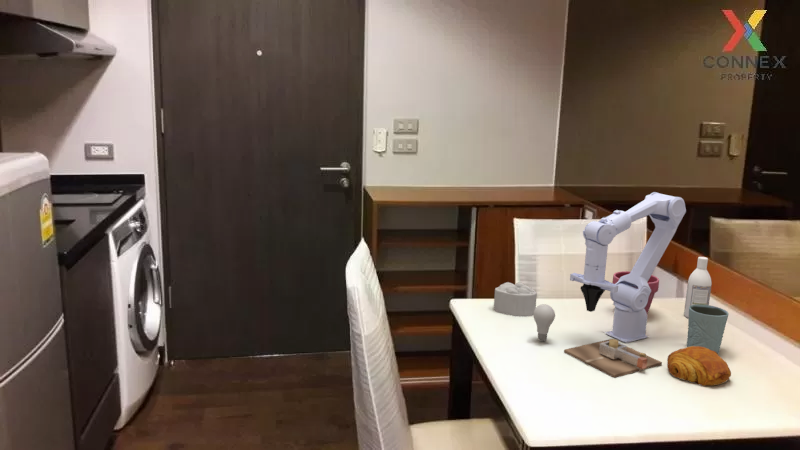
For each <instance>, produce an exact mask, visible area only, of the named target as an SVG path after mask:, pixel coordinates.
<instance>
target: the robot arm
mask: <svg viewBox="0 0 800 450" xmlns="http://www.w3.org/2000/svg"><path fill="white" fill-rule="evenodd" d="M686 213H687V209H686V203H685V200H684V198H682V197H681V196H673V195H668V194H663V193H659V192H656V191H653V192H651V193H650V194H647V195H645V197H644V200H642V201H640V202H638V203H637V204H635V205H634V206H632V207H631V208H629V209H628V210H626V211H624V210H620V209H619V210H618V209H616V210H614V211H613V212H612V214H609V215H607V216H604V217H602V218H600V219H599V220H598V221H597V220H592V221H590V222H589V223H587V224H586V225H585V227H584V229H583V230H582V236H583V238H584V240H585V243H584V244H585V247H586V248H585V256H584V257H585V259H584V266H583V268H584V269H583V274H581V273H576V272H573V273H570V275H569V281H572V282H578V283H581V284H582V285H581V286H580V291H581V292H582V296H583V297H584V302H585V306H586V311H587V312H590V313H592V312H594V311H595V310H596V308H597V305H598V303H599V301H600V298H601V297H602V295H603V294H604V293H605V292H606V291H607V292H610V293H609V295H610V299H611V301H612V302H613V303H612V305H613V306H614V311H613V312H614V313H613V322H612V329H611V330H609V331H605V335H608V336H610V337H611V338H613V339H616V340H618V341H621V342H623V343H625V344H626V343H631V342H634V341H640V340H643V339H648V338H649V337H648V336H649V335H646V333H647V332H646V331H647V324H648V314H647V313H646V311H645V309H644V308H645V307H646V305H647V303H648V298H649V295H650V293H651V289H650V287H649V285H648V283H647V282H648V280H649V278H650V277H651V275H653V273H654V272H655V270H656V267H657V266H658V264H659V262H660V261H661V258H662V257H663V255H664V254H665V251H666V250H667V248H668V246H669V245H670V242H672V241H671V240H672V239H673V237H674V236H675V234H676V232H677V229H678V227H679V225H680V223H681V222H682V220H683V217H684V216H685V214H686ZM648 216H649V217H650V219H651V221H652V223H653V224H654V229H653V232H652V234H651V235H650V237H649V239H648V240H647V242H646V244H645V246H644V247H643V249H642V250H641V253H640V255H639V256H638V259H637V260H636V262H634V263H635V264H634V265H633V267H632V269H631V272H630V273H629V274H627V275H624V276H622V277H620V279H619V281H618V282H617V283H616V284H613V283H612V282H610V281H609V280H606V279H605V277H606V270H607V259H608V250H609V245H610V244H611V243H612V241H613V240H614V238H615V237H617V235H619V234H621V233H623V232H624V231H627V230H629V229H630V228H631V225H632V223H633V222H635V221H638V220H640V219H643V218H645V217H648ZM634 287H635V288H634ZM637 288H638V289H637Z"/></svg>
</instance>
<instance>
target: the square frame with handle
mask: <svg viewBox="0 0 800 450" xmlns="http://www.w3.org/2000/svg"><path fill="white" fill-rule="evenodd" d="M627 347H628V346H627V345H625V344H623V343H620V342H618V347H617V348H613V347H611V346H609V341H607V342H603V343H600V348H599V353H600V354H602V355H605V356H607V357H609V358H611V359H617V358H619V359H621V360H623V361H626V362H628V363H630V364H633V365H635V366H637V367H639V368H641V369H644V368H646V367H647V359H646V358H644V357H639V356H637V355H634V354H632V353H630V352H627Z"/></svg>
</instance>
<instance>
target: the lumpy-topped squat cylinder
mask: <svg viewBox="0 0 800 450" xmlns="http://www.w3.org/2000/svg"><path fill="white" fill-rule="evenodd" d="M537 296H538V294H537V291H536V290H535V289H533V288H532V287H530V286H528V285H526V284H525V283H523V282H515V284H514V283H512V282H509V281H507V282H504V283H502V284H499V286H498V287H495V289H494V298H493V301H494V302H493V311H494V312H496V313H498V314H499V313H500V314H503V315H507V316H512V317H533V312H534V310H535V308H536V307H537Z"/></svg>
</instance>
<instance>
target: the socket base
mask: <svg viewBox="0 0 800 450" xmlns="http://www.w3.org/2000/svg"><path fill="white" fill-rule="evenodd" d="M607 341H609V346H611V347H613V348H617V347H618V343H620V342H619V341H620V340H618V339H616V338H609V339H605V340H600V341H597V342H592V343H588V344H582V345H579V346H578V345H577V346H574V347H570V348H566V349H564V350H563V352H564V353H565V354H567V355H568V356H569V357H572V358H574V359H577V360H579V361H580V362H582V363H584V364H586V365H587V366H590V367H592V368H594V369H596V370H597V371H599V372H602V373H604V374H606V375H608V376H610V377H611V378H613V379H615V378H620V377H623V376H625V375H626V376H627V375H629V374H633V373H634V374H635V373H637V372H641V371H644V370H648V369H652V368H655V367H660V366H662V365H663V362H662V361H661V360H658V359H656V358H653V357H652V356H649V355H647V354H646V353H644V352H640V351H639V350H636V349H633V348H631V347H629V346H627V352H630V353H632V354H634V355H637V356H639V357H644V358H646V359H647V367H646V368H644V369H641V368H639V367H637V366H635V365H633V364H630V363H628V362H626V361H623V360H621V359H619V358H617V359H611V358H609V357H607V356H605V355H602V354H600V353H599V348H600V343H603V342H607ZM564 353H563V354H564Z"/></svg>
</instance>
